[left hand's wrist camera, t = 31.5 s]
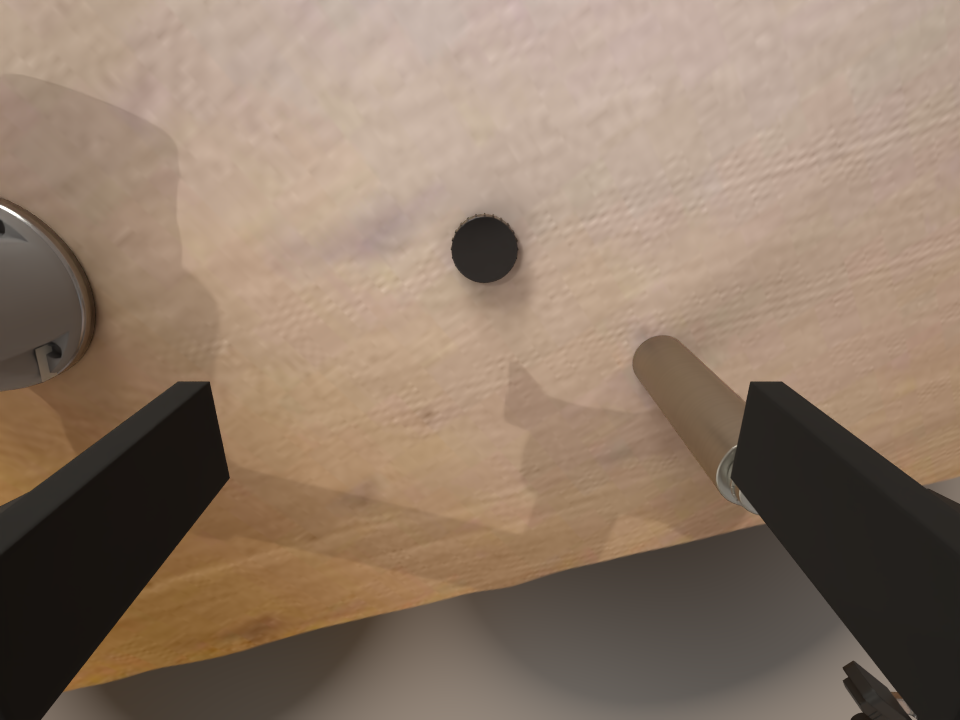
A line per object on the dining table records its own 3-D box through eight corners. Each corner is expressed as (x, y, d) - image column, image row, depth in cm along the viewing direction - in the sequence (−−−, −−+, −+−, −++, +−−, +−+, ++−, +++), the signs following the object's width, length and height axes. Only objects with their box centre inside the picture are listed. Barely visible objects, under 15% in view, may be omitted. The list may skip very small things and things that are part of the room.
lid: (521, 218, 39) (523, 220, 37) (511, 282, 40) (512, 287, 39) (455, 208, 38) (454, 211, 37) (448, 274, 40) (447, 279, 39)
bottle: (694, 340, 42) (833, 460, 26) (675, 389, 44) (795, 531, 27) (642, 330, 42) (748, 444, 25) (625, 379, 43) (715, 517, 27)
